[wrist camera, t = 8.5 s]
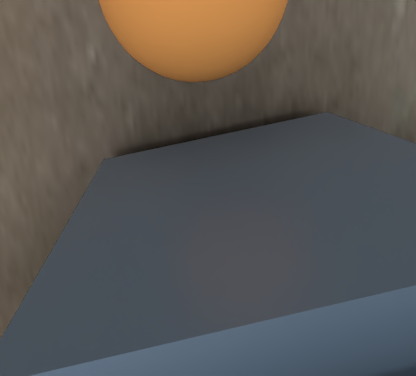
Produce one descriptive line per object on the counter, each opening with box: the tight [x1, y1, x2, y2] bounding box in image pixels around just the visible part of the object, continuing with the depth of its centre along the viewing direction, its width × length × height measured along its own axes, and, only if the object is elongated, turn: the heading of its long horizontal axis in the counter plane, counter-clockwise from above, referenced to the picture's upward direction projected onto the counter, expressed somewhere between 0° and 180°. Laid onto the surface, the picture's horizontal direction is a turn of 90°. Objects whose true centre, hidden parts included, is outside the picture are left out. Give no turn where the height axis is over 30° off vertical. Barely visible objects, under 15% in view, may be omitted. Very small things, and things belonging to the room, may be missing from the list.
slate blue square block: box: [0, 112, 416, 376], centre depth 9 cm, size 8×8×9 cm
